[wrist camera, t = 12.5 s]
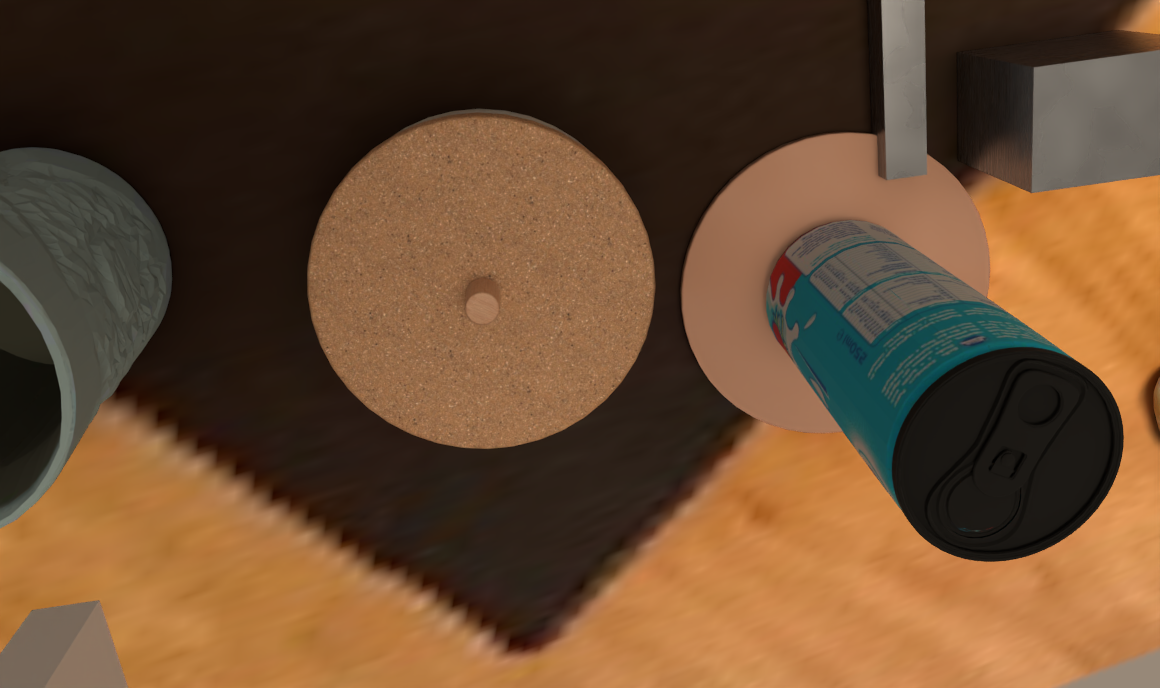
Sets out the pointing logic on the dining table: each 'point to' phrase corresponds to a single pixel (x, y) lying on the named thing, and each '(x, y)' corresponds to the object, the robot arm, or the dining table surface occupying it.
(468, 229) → the lidded jar
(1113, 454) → the beverage can
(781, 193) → the coaster
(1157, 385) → the pastry
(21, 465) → the green plant pot
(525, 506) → the dining table surface
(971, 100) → the dumbbell
